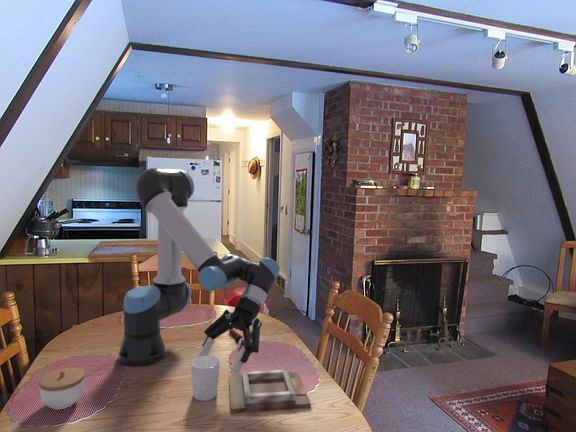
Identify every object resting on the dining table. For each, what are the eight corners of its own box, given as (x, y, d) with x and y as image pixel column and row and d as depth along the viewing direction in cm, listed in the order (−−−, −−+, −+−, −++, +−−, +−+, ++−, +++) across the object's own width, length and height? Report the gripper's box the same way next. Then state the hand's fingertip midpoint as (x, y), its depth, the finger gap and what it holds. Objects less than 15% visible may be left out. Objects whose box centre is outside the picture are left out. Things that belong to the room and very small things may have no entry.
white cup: (223, 390, 119) (224, 358, 118) (210, 405, 111) (210, 370, 110) (200, 385, 121) (200, 353, 120) (185, 399, 114) (185, 365, 113)
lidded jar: (80, 412, 106) (79, 378, 105) (34, 418, 103) (33, 383, 102) (88, 391, 116) (87, 360, 115) (46, 395, 113) (45, 364, 112)
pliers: (226, 352, 145) (226, 345, 145) (229, 330, 165) (229, 324, 165) (258, 352, 146) (258, 345, 146) (257, 330, 166) (257, 324, 166)
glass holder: (230, 413, 108) (230, 402, 107) (228, 379, 125) (228, 369, 125) (310, 407, 112) (311, 396, 111) (297, 375, 129) (298, 365, 129)
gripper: (287, 316, 123) (256, 383, 113) (227, 300, 137) (194, 358, 127) (277, 304, 118) (244, 373, 108) (216, 288, 132) (181, 348, 122)
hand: (217, 365), depth 117 cm, fingers open, 13 cm apart
